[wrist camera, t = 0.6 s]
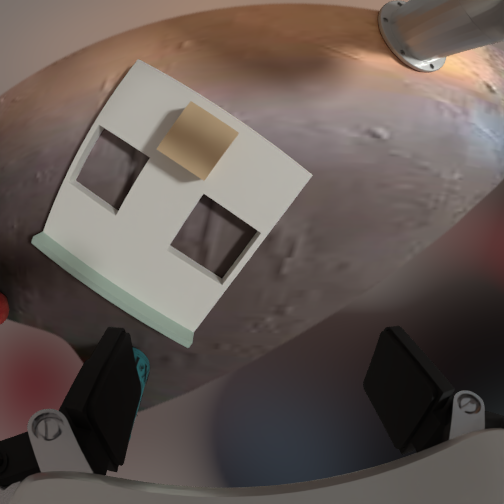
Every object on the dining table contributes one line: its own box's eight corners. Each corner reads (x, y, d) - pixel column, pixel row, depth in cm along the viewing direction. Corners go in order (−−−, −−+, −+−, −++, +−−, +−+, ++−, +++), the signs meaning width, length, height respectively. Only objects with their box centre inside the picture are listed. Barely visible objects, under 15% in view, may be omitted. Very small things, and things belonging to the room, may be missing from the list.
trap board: (142, 63, 27) (132, 52, 23) (307, 174, 34) (319, 176, 29) (48, 233, 33) (31, 242, 28) (191, 329, 39) (188, 348, 35)
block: (193, 106, 28) (190, 100, 25) (237, 135, 30) (238, 132, 27) (162, 149, 29) (156, 149, 27) (205, 178, 31) (203, 180, 28)
